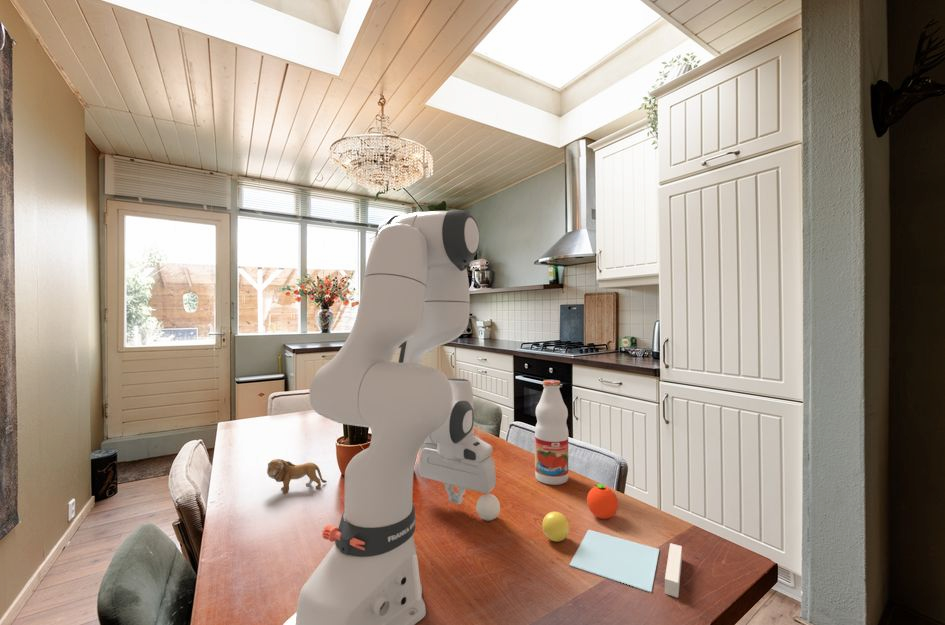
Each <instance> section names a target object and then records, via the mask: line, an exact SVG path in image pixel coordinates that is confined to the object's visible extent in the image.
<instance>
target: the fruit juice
mask: <svg viewBox="0 0 945 625" xmlns="http://www.w3.org/2000/svg"><path fill="white" fill-rule="evenodd" d="M542 387H543V390H542V393H541V396H540V399H539V401H538V403H537V405H536V407H535V416H536V421H537V422H536V424H535V429H534V439H535V440H534V475H535V476H534V477H535V478H536V480H537V481H538V482H540V483H543V484H545V485H549V486H550V485H551V486H558V485H563V484H565V483H567V482H568V479H569V429H568V424H567V420H568V417H569V412H568V408H567V405H566V404H565V402H564V399H563V396H562V393H561V391H560V388H561V381H560V380H557V379H544V380H543V382H542Z"/></svg>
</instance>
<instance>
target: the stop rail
mask: <svg viewBox="0 0 945 625" xmlns="http://www.w3.org/2000/svg"><path fill="white" fill-rule="evenodd" d="M682 552H683V547H682V545H678V544H676V543H675V544H674V543H671V542H670V543H669V549H668V556H667V561H666V562H667V563H666V569H665V574H664V594H665V595H668V596H671V597H673V598H676V599H677V598H679V593H680V584H681V582H680V581H681V573H682V572H681V571H682V561H683V553H682Z"/></svg>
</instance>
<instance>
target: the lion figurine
mask: <svg viewBox="0 0 945 625" xmlns="http://www.w3.org/2000/svg"><path fill="white" fill-rule="evenodd" d="M266 471H267V472H266V473H267V475H268V477H269V478H270V479H273V480H275V482H276V483H282V484H283V486H282V487H281V488H280V489H281V491H282V494H284V495H286V494H288V493H289V491H290V482H291V480H299V479H301V478H304V477H306V476H307V477H308V478H309V481H308V482H305V483H306V484H305V486H306V487H309V486H311V485H312V483H313V482H315V483H316V484H317V485H315V489H317V490H318V489H320V488H321V487H322V483H327V480H325V479H323V476H322V474H321V470H320V467H319V466H318V465H317V464H316V463H313V462H306V463H303V464H302V463H301V464H294V463H293V462H291V461H289V460H288V461H286V460H284V459H279V458H276V459H275V458H274V459H272V460H271V461H269V462H268V463H267V468H266ZM316 472H317V473H316ZM317 475H318V476H319V477H318V476H317ZM321 482H322V483H321Z"/></svg>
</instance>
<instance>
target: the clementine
mask: <svg viewBox="0 0 945 625" xmlns="http://www.w3.org/2000/svg"><path fill="white" fill-rule="evenodd" d="M618 501H619V500H618V497H617V494H616V493H615V492H614V491H613V490H612V489H611V488H610V487H608V486H606V485H603V484H601V483H600V484H599V483H596V484H595V485H594V487H592V488H591V489H590V490H589V491H588V493H587V496H586V504H587V507H588V509H589V511H590V512H591V513H592V514H593V515H594V516H595V517H597V518H599V519H604V520H606V519H607V520H608V519H610V518H612V517H613V516H615V514H616V513H617V511H618V508H619V502H618Z"/></svg>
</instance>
